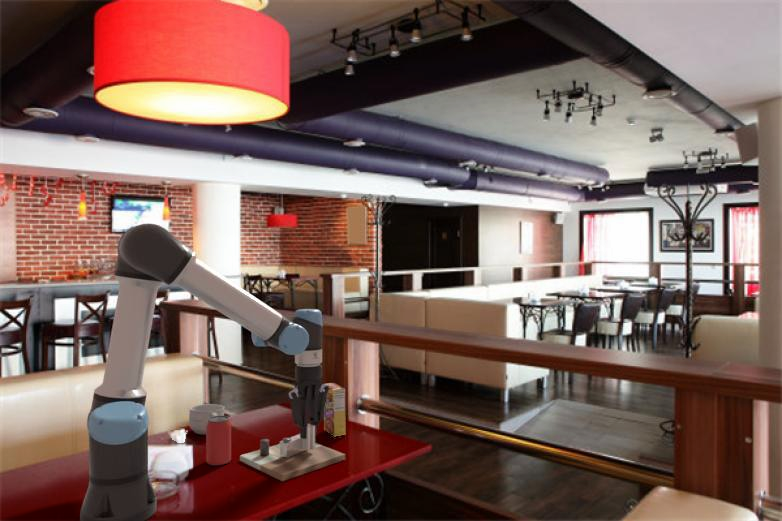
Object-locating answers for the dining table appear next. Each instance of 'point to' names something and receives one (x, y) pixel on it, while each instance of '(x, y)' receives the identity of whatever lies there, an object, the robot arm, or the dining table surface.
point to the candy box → (335, 410)
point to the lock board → (290, 460)
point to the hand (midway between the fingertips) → (308, 448)
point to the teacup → (203, 416)
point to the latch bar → (291, 446)
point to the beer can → (218, 440)
